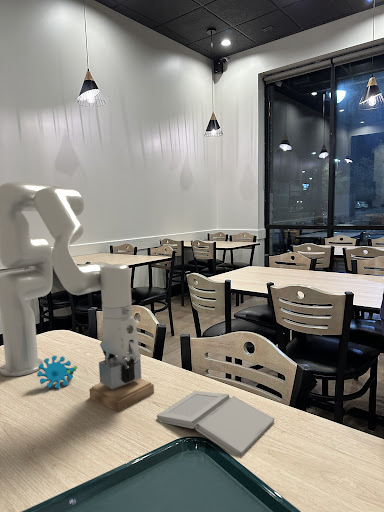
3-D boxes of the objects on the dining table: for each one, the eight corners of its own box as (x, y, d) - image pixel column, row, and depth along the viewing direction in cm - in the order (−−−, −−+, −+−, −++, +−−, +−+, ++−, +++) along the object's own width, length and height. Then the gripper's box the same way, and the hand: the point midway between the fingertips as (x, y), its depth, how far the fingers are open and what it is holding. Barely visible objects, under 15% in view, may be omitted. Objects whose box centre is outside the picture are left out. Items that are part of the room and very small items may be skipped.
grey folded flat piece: (275, 424, 80) (275, 408, 79) (241, 460, 68) (240, 442, 68) (195, 396, 94) (195, 382, 93) (155, 422, 82) (155, 407, 82)
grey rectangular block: (128, 371, 99) (127, 352, 99) (141, 377, 95) (140, 358, 94) (100, 382, 93) (98, 362, 93) (111, 389, 89) (110, 368, 88)
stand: (89, 397, 94) (89, 386, 93) (125, 381, 103) (124, 371, 102) (118, 411, 86) (117, 400, 86) (154, 392, 95) (153, 382, 95)
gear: (39, 389, 96) (36, 356, 102) (35, 398, 99) (33, 365, 105) (80, 384, 102) (75, 352, 108) (75, 392, 105) (71, 362, 111)
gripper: (150, 313, 90) (153, 381, 91) (108, 304, 101) (112, 365, 102) (127, 320, 84) (131, 392, 86) (86, 310, 95) (90, 374, 97)
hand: (120, 377), depth 94 cm, fingers closed on grey rectangular block, 6 cm apart
